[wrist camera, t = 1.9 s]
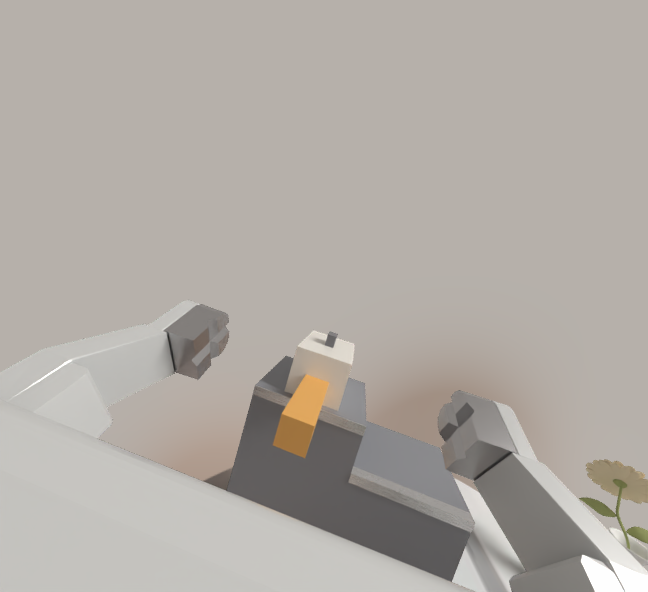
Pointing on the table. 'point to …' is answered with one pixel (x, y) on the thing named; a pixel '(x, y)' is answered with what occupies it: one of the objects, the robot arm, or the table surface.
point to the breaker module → (313, 388)
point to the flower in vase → (624, 486)
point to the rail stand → (354, 479)
